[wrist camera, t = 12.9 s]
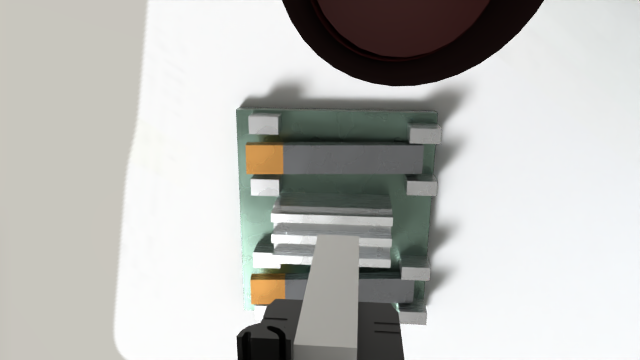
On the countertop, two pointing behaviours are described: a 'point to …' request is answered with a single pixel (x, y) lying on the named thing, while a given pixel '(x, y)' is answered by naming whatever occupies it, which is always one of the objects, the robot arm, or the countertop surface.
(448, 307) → the countertop surface
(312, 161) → the lever
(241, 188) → the circuit board
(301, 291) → the lever
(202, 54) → the countertop surface
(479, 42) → the wineglass
